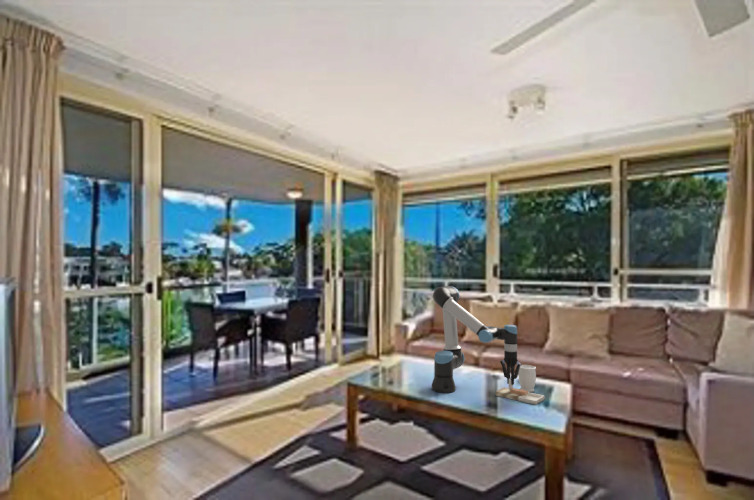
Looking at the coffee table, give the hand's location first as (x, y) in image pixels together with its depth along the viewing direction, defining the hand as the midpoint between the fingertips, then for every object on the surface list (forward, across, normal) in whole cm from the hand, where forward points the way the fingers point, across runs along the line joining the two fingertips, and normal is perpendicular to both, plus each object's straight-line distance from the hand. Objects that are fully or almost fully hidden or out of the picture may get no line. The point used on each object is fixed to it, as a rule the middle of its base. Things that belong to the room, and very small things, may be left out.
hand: (510, 389), depth 268 cm
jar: (+4, +3, +18) cm, 19 cm away
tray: (+4, +13, 0) cm, 13 cm away
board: (+4, 0, 0) cm, 4 cm away
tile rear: (+1, +3, 0) cm, 3 cm away
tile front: (+1, +8, 0) cm, 8 cm away
